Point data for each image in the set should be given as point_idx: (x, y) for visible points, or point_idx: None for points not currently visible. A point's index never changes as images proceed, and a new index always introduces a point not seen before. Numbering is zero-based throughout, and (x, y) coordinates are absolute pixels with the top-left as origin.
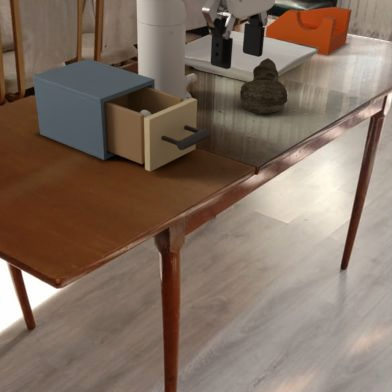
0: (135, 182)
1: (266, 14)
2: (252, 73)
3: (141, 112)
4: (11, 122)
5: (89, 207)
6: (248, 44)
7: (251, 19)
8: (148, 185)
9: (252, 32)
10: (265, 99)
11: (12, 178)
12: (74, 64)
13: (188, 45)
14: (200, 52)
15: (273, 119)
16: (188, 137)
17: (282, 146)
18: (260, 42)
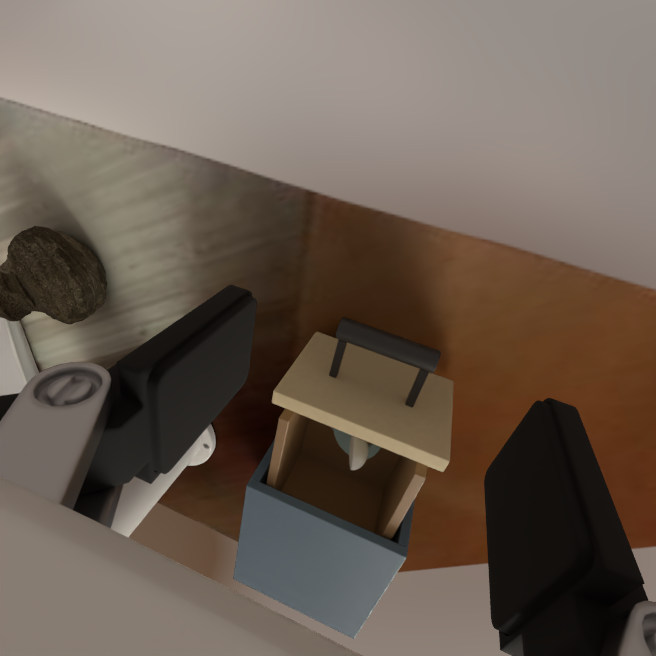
0: (488, 392)
1: (5, 423)
2: (7, 321)
3: (358, 468)
4: None
5: (629, 439)
6: (227, 381)
7: (115, 480)
8: (492, 368)
9: (183, 410)
10: (71, 266)
11: None
12: (270, 593)
13: None
14: None
15: (99, 233)
16: (407, 357)
17: (188, 170)
18: (211, 328)
